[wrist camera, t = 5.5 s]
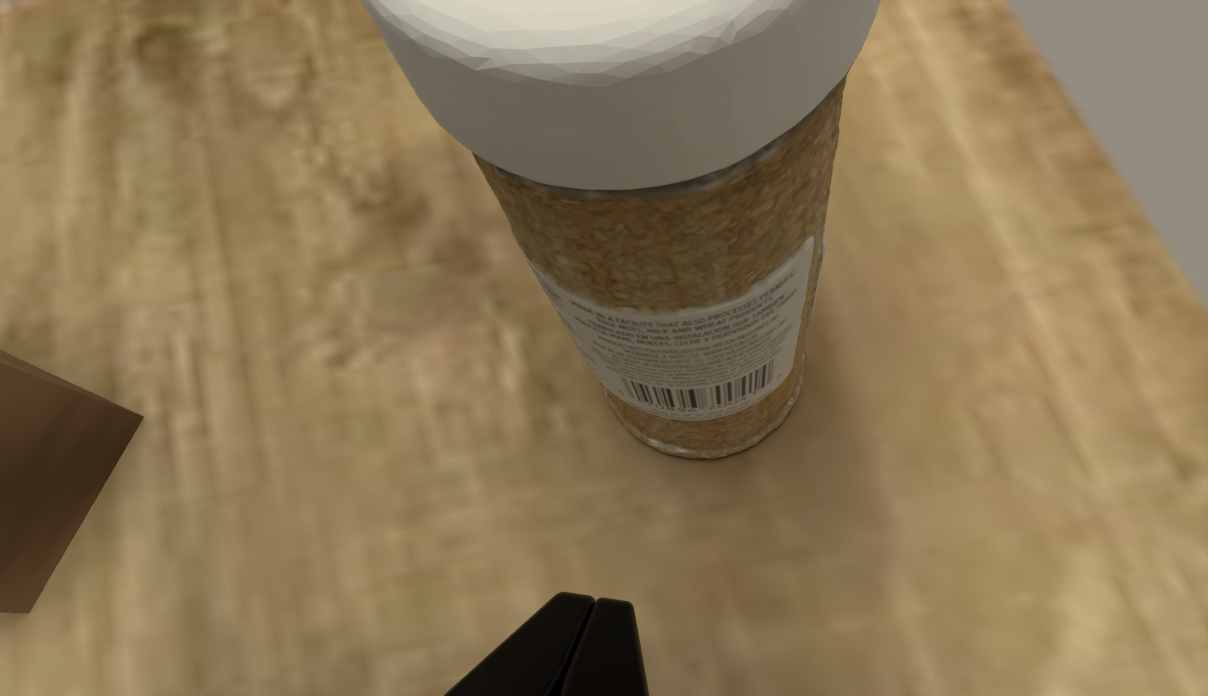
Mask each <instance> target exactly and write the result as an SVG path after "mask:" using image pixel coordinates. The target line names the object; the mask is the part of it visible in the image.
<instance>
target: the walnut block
mask: <svg viewBox="0 0 1208 696" xmlns="http://www.w3.org/2000/svg"><path fill="white" fill-rule="evenodd" d="M142 419H143V416H141V415H139V414H137V413H134V412H132V411H130V410H128V409H126V408H124V407H121V406H119V405H117V404H115V403H113V402H111V401H108V400H106V399H104V398H102V397H100V396H98V395H95V394H93V393H91V392H89V391H87V390H85V389H83V388H80V387H78V386H76V385H74V384H72V383H70V382H67V381H65V380H63V379H61V378H59V377H57V376H54V375H52V374H50V373H48V372H46V371H44V370H41V369H39V368H37V367H35V366H33V365H31V364H28V363H26V362H24V361H22V360H20V359H18V358H15V357H13V356H11V355H9V354H7V353H5V352H2V351H0V612H11V613H29V612H30V610H31V609H32V607H33V605H34V604H35V602H36V600H37V599H38V597H39V595H40V593H41V592H42V590H43V588H44V587H45V585H46V583H47V581H48V580H49V578H50V576H51V575H52V573H53V571H54V570H55V568H56V566H57V564H58V563H59V561H60V559H61V558H62V556H63V554H64V552H65V551H66V549H67V547H68V546H69V544H70V542H71V540H72V539H73V537H74V535H75V534H76V532H77V530H78V529H79V527H80V525H81V523H82V522H83V520H84V518H85V517H86V515H87V513H88V511H89V510H90V508H91V506H92V505H93V503H94V501H95V499H96V498H97V496H98V494H99V493H100V491H101V489H102V488H103V486H104V484H105V482H106V481H107V479H108V477H109V476H110V474H111V472H112V470H113V469H114V467H115V465H116V464H117V462H118V460H119V458H120V457H121V455H122V453H123V452H124V450H125V448H126V447H127V445H128V443H129V441H130V440H131V438H132V436H133V435H134V433H135V431H136V429H137V428H138V426H139V424H140V423H141V421H142Z"/></svg>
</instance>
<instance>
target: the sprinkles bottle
mask: <svg viewBox="0 0 1208 696" xmlns="http://www.w3.org/2000/svg"><path fill="white" fill-rule="evenodd" d="M362 2H363V3H364V5H365V7H366V9H367V10H368V12H369V14H370V16H371V18H372V19H373V21H374V23H375V25H376V27H377V28H378V30H379V32H380V34H381V35H382V37H383V39H384V41H385V43H386V44H387V46H388V48H389V50H390V51H391V53H392V54H393V56H394V58H395V59H396V61H397V63H398V64H399V66H400V68H401V69H402V71H403V73H404V74H405V76H406V77H407V79H408V81H409V82H410V84H411V86H412V87H413V89H414V91H415V92H416V94H417V96H418V97H419V99H420V100H421V102H422V103H423V104H424V106H425V107H426V108H427V109H428V111H429V112H430V113H431V115H432V116H433V117H434V119H435V120H436V121H437V122H438V124H439V125H440V126H441V127H443V128H444V129H445V130H446V131H447V132H448V133H449V134H451V135H452V136H453V137H454V138H455V139H456V140H457V141H459V142H460V143H461V144H462V145H464V146H465V147H466V148H467V149H469V150H470V151H471V152H472V154H473V156H474V158H475V160H476V162H477V164H478V165H479V167H480V169H481V170H482V172H483V174H484V176H485V178H486V180H487V182H488V183H489V185H490V187H491V189H492V190H493V192H494V194H495V195H496V197H497V199H498V201H499V203H500V205H501V207H502V209H503V210H504V212H505V214H506V216H507V218H508V222H509V225H510V228H511V231H512V233H513V236H514V238H515V240H516V242H517V244H518V246H519V248H520V250H521V251H522V253H523V255H524V257H525V258H526V260H527V262H528V263H529V265H530V267H531V269H532V270H533V272H534V274H535V275H536V277H537V279H538V280H539V282H540V284H541V285H542V287H543V289H544V290H545V292H546V294H547V295H548V297H549V299H550V300H551V302H552V304H553V306H554V307H555V309H556V311H557V312H558V314H559V316H560V318H561V319H562V321H563V323H564V325H565V327H566V328H567V330H568V332H569V333H570V335H571V337H572V338H573V340H574V342H575V344H576V345H577V347H578V349H579V351H580V352H581V354H582V356H583V358H584V359H585V361H586V363H587V364H588V366H589V367H590V369H591V370H592V372H593V373H594V375H595V376H596V377H597V378H598V379H599V381H600V383H601V386H602V388H603V392H604V395H605V397H606V400H607V402H608V404H609V406H610V408H611V409H612V410H613V411H614V413H615V414H616V416H617V418H618V419H619V421H620V422H621V424H622V425H623V426H624V427H625V428H626V429H627V430H628V431H629V432H630V433H631V434H633V435H634V436H635V437H636V438H638V439H639V440H641V441H642V442H644V443H645V444H647V445H649V446H650V447H652V448H654V449H657V450H659V451H661V452H663V453H665V454H669V455H676V456H682V457H685V458H691V459H692V458H709V459H714V458H719V457H724V456H728V455H730V454H732V453H736V452H740V451H743V450H745V449H747V448H749V447H751V446H753V445H755V444H757V443H758V442H759V441H760V440H761V439H763V438H764V437H766V436H767V435H768V434H769V433H770V432H771V431H772V430H773V429H775V428H776V427H778V426H779V425H780V424H781V423H782V421H783V420H784V418H785V417H786V415H787V414H788V412H789V411H790V410H791V408H792V407H793V405H794V403H795V401H796V400H797V398H798V396H799V393H800V390H801V387H802V383H803V375H804V368H805V362H806V352H805V349H804V347H803V346H804V338H805V333H806V328H807V325H808V323H809V322H810V320H811V318H812V315H813V311H814V306H815V301H816V296H817V291H818V286H819V280H820V274H821V269H822V263H823V257H824V252H825V220H826V212H827V205H828V199H829V194H830V183H831V178H832V171H833V161H834V158H835V153H836V148H837V143H838V137H839V120H840V115H841V108H842V97H843V90H844V87H845V84H846V77H847V74H848V72H849V70H850V68H851V66H852V65H853V63H854V61H855V59H856V58H857V56H858V55H859V53H860V52H861V49H862V47H863V45H864V42H865V40H866V37H867V35H868V33H869V30H870V28H871V26H872V23H873V21H874V18H875V16H876V14H877V10H878V7H879V3H880V0H362Z"/></svg>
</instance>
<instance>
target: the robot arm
mask: <svg viewBox="0 0 1208 696" xmlns="http://www.w3.org/2000/svg"><path fill="white" fill-rule="evenodd" d="M444 696H649V691H648V685H647V680H646V674H645V668H644V663H643V657H642V651H641V646H640V640H639V634H638V628H637V623H636V617H635V611H634V607H633V605H632V603H630V602H628V601H623V600H616V599H609V598H599V599H597V600H596V601H595V599H594V598H593V597H592V596H589V595H583V594H576V593H569V592H560V593H558V594H556V595H555V596H554V597H553V598H552V599H551V600H549V601H548V602H547V603H546V604H545V605H544V606H543V607H542V608H541V609H539V610H538V611H537V612H536V613H535V614H534V615H533V616H532V617H530V618H529V619H528V620H527V621H526V622H525V623H524V624H523V625H522V626H520V627H519V628H518V629H517V630H516V631H515V632H514V633H513V634H512V635H510V636H509V637H508V638H507V639H506V640H505V641H504V642H503V643H502V644H500V645H499V646H498V647H497V648H496V649H495V650H494V651H493V652H492V653H490V654H489V655H488V656H487V657H486V658H485V659H484V660H483V661H482V662H480V663H479V664H478V665H477V666H476V667H475V668H474V669H473V670H472V671H470V672H469V673H468V674H467V675H466V676H465V677H464V678H463V679H461V680H460V681H459V682H458V683H457V684H456V685H455V686H454V687H453V688H451V689H450V690H449V691H448V692H447V693H446V694H445V695H444Z"/></svg>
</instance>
